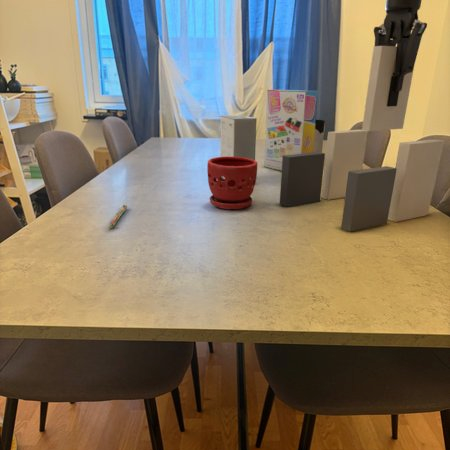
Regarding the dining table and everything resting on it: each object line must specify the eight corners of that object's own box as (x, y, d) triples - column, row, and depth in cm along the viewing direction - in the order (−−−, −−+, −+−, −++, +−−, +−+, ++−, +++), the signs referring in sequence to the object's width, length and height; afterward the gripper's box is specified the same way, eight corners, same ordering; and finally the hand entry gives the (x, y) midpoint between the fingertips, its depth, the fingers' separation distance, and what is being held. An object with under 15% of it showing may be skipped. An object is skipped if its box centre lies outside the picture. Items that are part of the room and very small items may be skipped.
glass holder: (298, 158, 185) (301, 120, 178) (312, 154, 196) (315, 118, 189) (317, 160, 181) (321, 121, 174) (330, 155, 191) (334, 119, 184)
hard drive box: (255, 184, 141) (257, 118, 132) (232, 185, 139) (233, 119, 130) (240, 174, 154) (241, 114, 145) (219, 176, 152) (219, 114, 143)
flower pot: (200, 209, 115) (199, 162, 109) (218, 197, 125) (218, 154, 120) (246, 214, 110) (247, 166, 105) (261, 202, 121) (263, 157, 116)
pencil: (112, 230, 98) (127, 208, 114) (111, 226, 98) (127, 204, 114) (106, 230, 98) (122, 208, 114) (105, 226, 98) (122, 204, 114)
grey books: (386, 223, 104) (397, 168, 98) (350, 231, 98) (358, 173, 92) (313, 199, 124) (317, 151, 118) (279, 204, 119) (282, 155, 113)
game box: (311, 174, 155) (319, 90, 143) (300, 176, 152) (307, 90, 140) (274, 165, 170) (278, 88, 158) (263, 166, 168) (266, 89, 155)
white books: (427, 215, 110) (444, 140, 102) (395, 222, 105) (410, 144, 97) (351, 192, 131) (360, 129, 123) (321, 197, 126) (328, 131, 117)
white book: (402, 128, 111) (417, 47, 102) (369, 131, 105) (382, 45, 97) (395, 127, 112) (408, 47, 104) (361, 130, 107) (373, 46, 99)
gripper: (366, -7, 100) (352, 104, 111) (424, -18, 88) (401, 108, 99) (389, -4, 103) (373, 103, 114) (447, -15, 91) (423, 107, 102)
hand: (386, 105), depth 106 cm, fingers closed on white book, 2 cm apart
